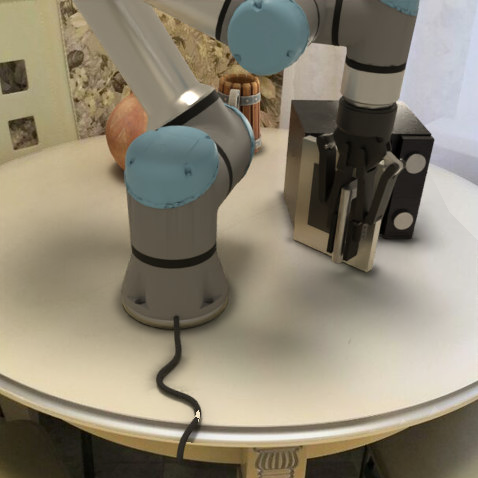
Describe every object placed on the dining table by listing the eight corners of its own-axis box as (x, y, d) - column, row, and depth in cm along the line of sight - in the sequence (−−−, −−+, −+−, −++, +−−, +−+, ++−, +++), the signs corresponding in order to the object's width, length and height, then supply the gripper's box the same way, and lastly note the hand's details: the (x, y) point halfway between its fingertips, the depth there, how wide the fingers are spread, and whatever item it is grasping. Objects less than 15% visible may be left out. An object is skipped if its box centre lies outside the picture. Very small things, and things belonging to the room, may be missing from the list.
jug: (215, 178, 123) (216, 75, 111) (130, 196, 115) (122, 87, 104) (175, 146, 136) (172, 51, 124) (96, 160, 128) (85, 60, 116)
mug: (217, 137, 141) (218, 69, 132) (263, 141, 140) (267, 73, 131) (204, 164, 128) (205, 91, 119) (255, 169, 127) (259, 96, 118)
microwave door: (347, 286, 93) (365, 177, 83) (273, 250, 101) (281, 146, 90) (372, 268, 97) (392, 163, 87) (298, 235, 105) (309, 135, 95)
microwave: (413, 241, 105) (436, 139, 94) (297, 242, 104) (307, 138, 93) (385, 193, 120) (403, 101, 109) (283, 193, 118) (291, 99, 108)
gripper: (437, 108, 77) (398, 264, 91) (337, 77, 85) (316, 225, 99) (405, 123, 73) (370, 285, 87) (304, 88, 81) (286, 242, 95)
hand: (341, 253), depth 93 cm, fingers open, 2 cm apart
